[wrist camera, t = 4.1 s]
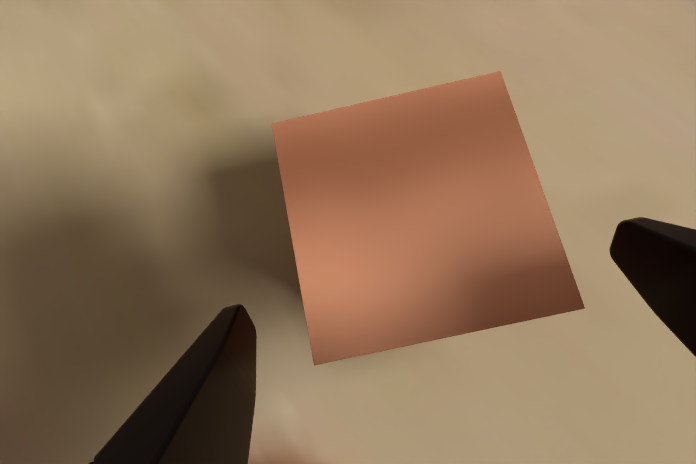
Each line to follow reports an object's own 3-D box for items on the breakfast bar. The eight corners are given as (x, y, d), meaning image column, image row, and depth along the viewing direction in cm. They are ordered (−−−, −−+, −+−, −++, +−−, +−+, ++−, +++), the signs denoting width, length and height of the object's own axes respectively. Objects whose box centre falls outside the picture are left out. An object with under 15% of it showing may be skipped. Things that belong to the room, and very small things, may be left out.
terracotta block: (458, 301, 17) (585, 308, 7) (346, 325, 17) (313, 365, 7) (429, 194, 18) (500, 71, 8) (324, 217, 18) (271, 123, 8)
